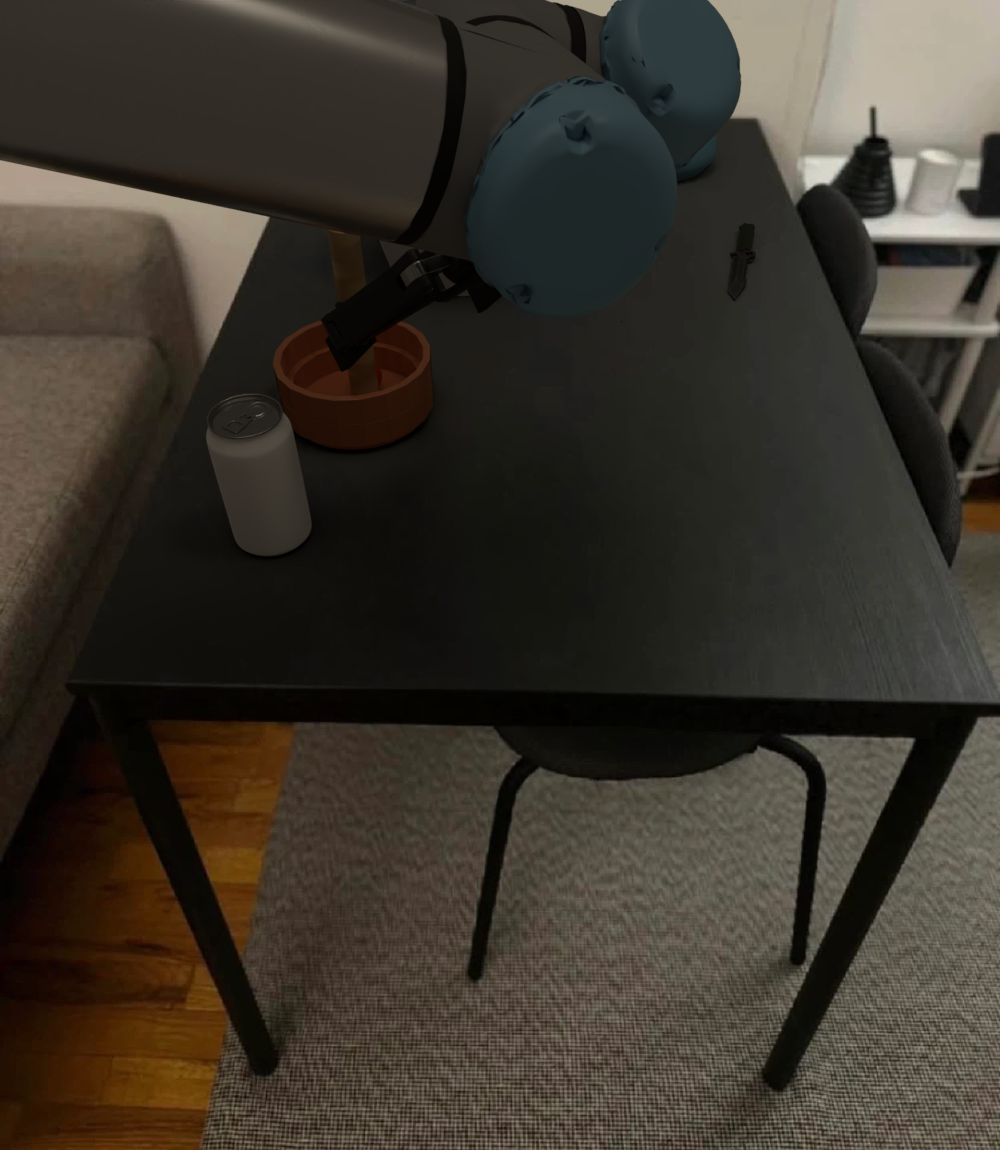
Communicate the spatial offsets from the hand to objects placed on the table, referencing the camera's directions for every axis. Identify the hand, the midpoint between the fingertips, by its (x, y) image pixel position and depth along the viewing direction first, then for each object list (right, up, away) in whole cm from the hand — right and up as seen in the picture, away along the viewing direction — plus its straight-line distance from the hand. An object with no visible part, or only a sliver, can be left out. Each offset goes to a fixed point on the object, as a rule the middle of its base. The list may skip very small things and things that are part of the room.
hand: (408, 324), depth 75 cm
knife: (+36, +16, +35) cm, 53 cm away
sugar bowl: (+30, +37, +56) cm, 73 cm away
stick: (-5, -4, +14) cm, 16 cm away
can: (-12, -17, +3) cm, 21 cm away
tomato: (-6, -1, +15) cm, 16 cm away
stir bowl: (-6, -4, +15) cm, 17 cm away
